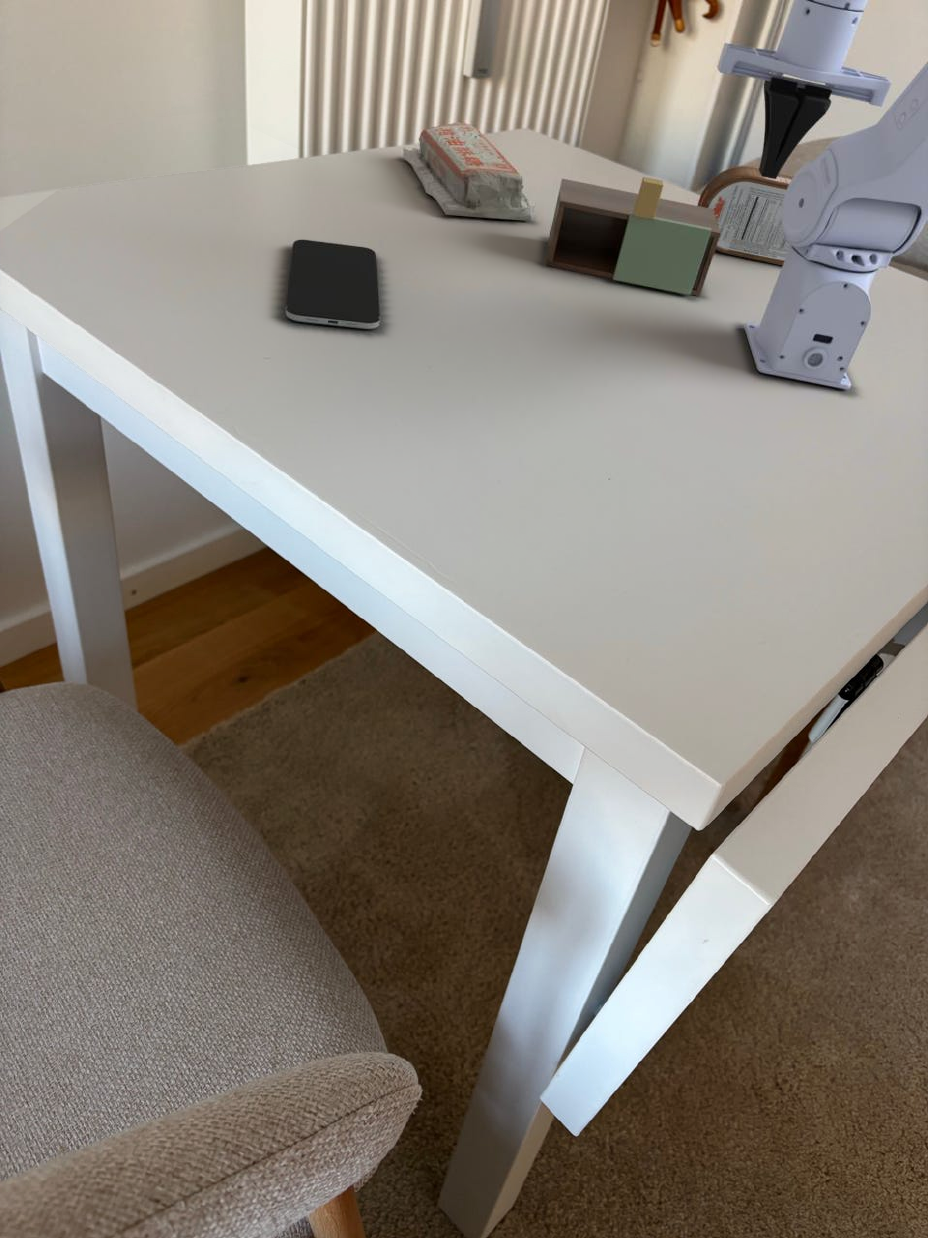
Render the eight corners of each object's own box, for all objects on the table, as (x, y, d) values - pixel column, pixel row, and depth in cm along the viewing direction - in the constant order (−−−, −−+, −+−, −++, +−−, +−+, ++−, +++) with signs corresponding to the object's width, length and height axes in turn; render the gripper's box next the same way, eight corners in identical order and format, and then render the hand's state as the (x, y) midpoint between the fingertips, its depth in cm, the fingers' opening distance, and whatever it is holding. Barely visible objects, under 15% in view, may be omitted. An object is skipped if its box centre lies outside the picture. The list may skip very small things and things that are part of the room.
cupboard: (699, 296, 89) (720, 232, 85) (546, 265, 89) (560, 200, 85) (693, 269, 94) (713, 208, 90) (548, 240, 94) (561, 178, 90)
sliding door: (690, 296, 88) (723, 197, 82) (612, 281, 88) (640, 180, 82) (689, 291, 89) (721, 192, 83) (612, 275, 89) (639, 175, 83)
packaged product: (545, 175, 94) (450, 168, 91) (534, 224, 97) (443, 218, 94) (490, 120, 106) (406, 112, 103) (483, 165, 109) (401, 158, 106)
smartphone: (284, 312, 71) (292, 237, 81) (284, 321, 71) (292, 245, 82) (381, 323, 72) (376, 248, 83) (380, 331, 72) (375, 255, 83)
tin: (820, 266, 102) (853, 185, 96) (825, 276, 99) (860, 195, 94) (685, 238, 101) (711, 156, 96) (688, 249, 99) (714, 165, 93)
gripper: (902, 12, 80) (834, 176, 89) (738, -24, 80) (687, 145, 89) (924, 27, 75) (850, 200, 84) (749, -11, 74) (693, 168, 84)
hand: (767, 174), depth 86 cm, fingers closed
